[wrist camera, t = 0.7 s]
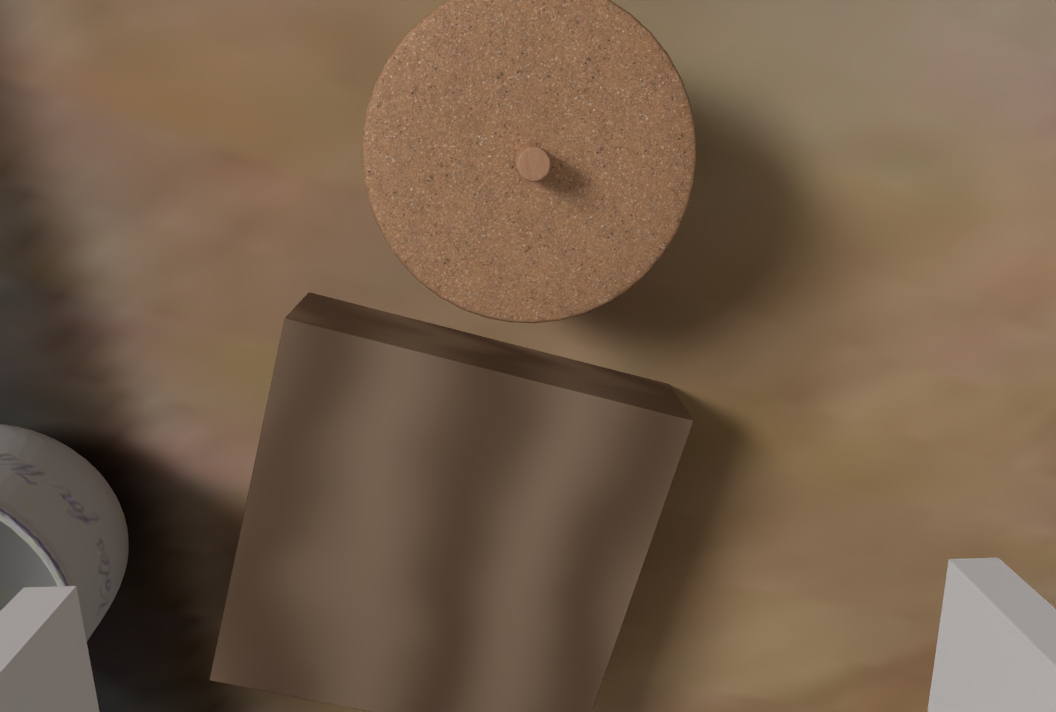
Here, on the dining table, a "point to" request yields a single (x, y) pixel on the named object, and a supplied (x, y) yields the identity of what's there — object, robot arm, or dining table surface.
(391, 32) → the dining table surface
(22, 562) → the teacup
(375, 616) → the walnut block
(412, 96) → the lidded jar
